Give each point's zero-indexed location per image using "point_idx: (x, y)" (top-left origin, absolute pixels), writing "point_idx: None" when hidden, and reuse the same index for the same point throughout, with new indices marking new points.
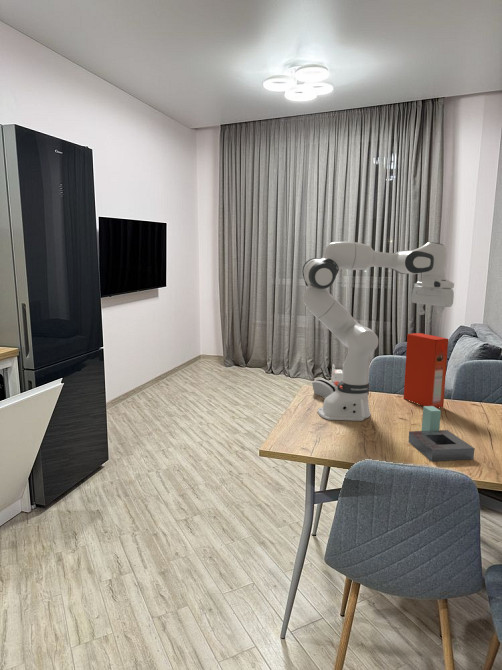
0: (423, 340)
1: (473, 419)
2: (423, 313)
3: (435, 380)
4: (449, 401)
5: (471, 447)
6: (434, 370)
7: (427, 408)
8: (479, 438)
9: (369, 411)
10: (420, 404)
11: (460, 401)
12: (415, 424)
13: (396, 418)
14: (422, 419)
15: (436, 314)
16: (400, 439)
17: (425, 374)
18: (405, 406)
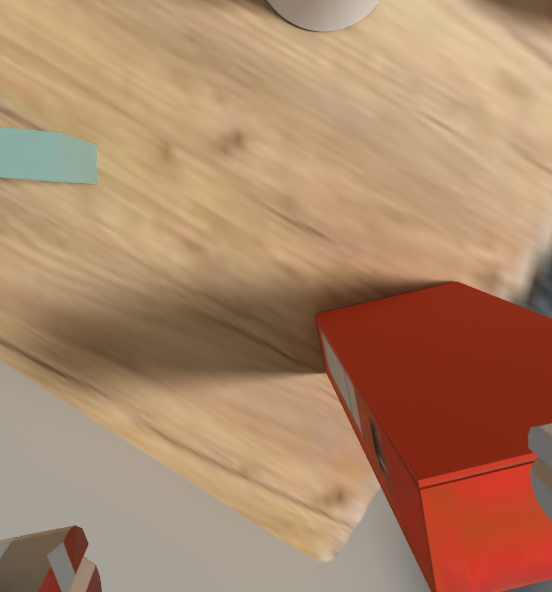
0: None
1: (189, 402)
2: (548, 488)
3: (342, 370)
4: None
5: None
6: (352, 381)
7: (23, 132)
8: (7, 308)
9: (289, 8)
10: (366, 302)
11: None
12: (164, 160)
13: (239, 120)
14: (79, 139)
15: (18, 574)
16: (9, 3)
17: (392, 347)
18: (368, 238)
